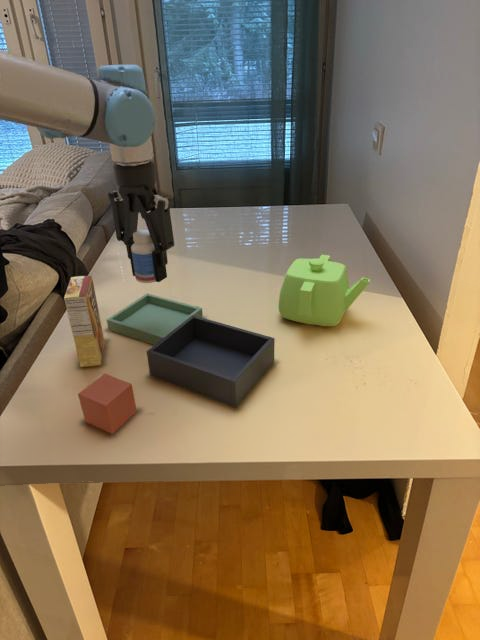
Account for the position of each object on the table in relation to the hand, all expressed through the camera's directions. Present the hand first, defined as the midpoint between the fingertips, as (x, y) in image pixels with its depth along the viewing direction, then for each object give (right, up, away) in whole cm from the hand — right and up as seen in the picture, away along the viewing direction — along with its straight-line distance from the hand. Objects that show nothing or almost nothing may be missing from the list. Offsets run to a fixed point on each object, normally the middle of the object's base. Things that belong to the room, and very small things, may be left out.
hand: (149, 276), depth 97 cm
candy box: (-11, -16, -3) cm, 20 cm away
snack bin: (+14, -18, -9) cm, 25 cm away
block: (-3, -25, -19) cm, 32 cm away
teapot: (+37, -8, +7) cm, 39 cm away
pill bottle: (0, -1, 0) cm, 1 cm away
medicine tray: (0, -10, +6) cm, 12 cm away
